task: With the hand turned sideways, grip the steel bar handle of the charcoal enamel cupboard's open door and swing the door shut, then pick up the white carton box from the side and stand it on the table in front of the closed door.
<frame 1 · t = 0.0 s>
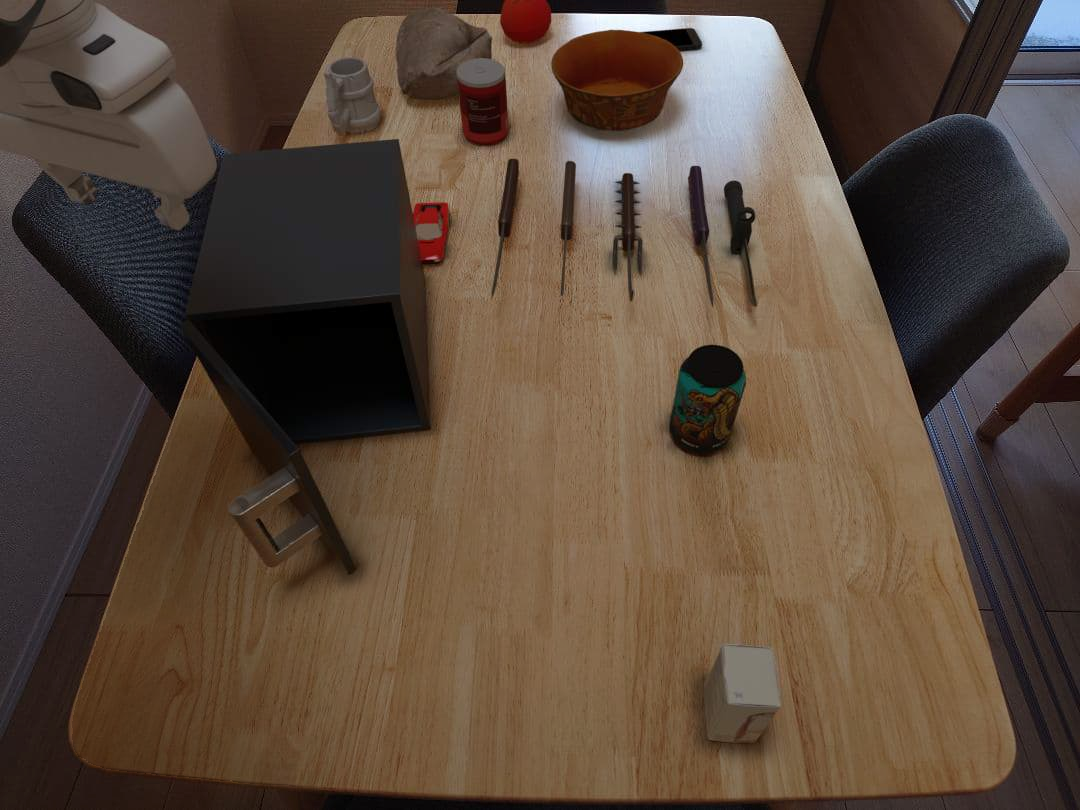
hand: (131, 211, 63), 33 cm above the table, tool pointing down, fingers open, 8 cm apart
rock: (446, 87, 136), on the table
bowl: (613, 116, 129), on the table
cupboard door: (245, 470, 73), point 11 cm above the table, hinge at 55.0°
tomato: (525, 40, 146), on the table
cupboard: (349, 357, 96), on the table
white carton box: (728, 713, 69), on the table
beverage can: (698, 433, 88), on the table
smartphone: (659, 44, 144), on the table
knife set: (622, 254, 108), on the table
mug: (355, 129, 129), on the table
toy car: (431, 240, 110), on the table
canned food: (486, 134, 127), on the table
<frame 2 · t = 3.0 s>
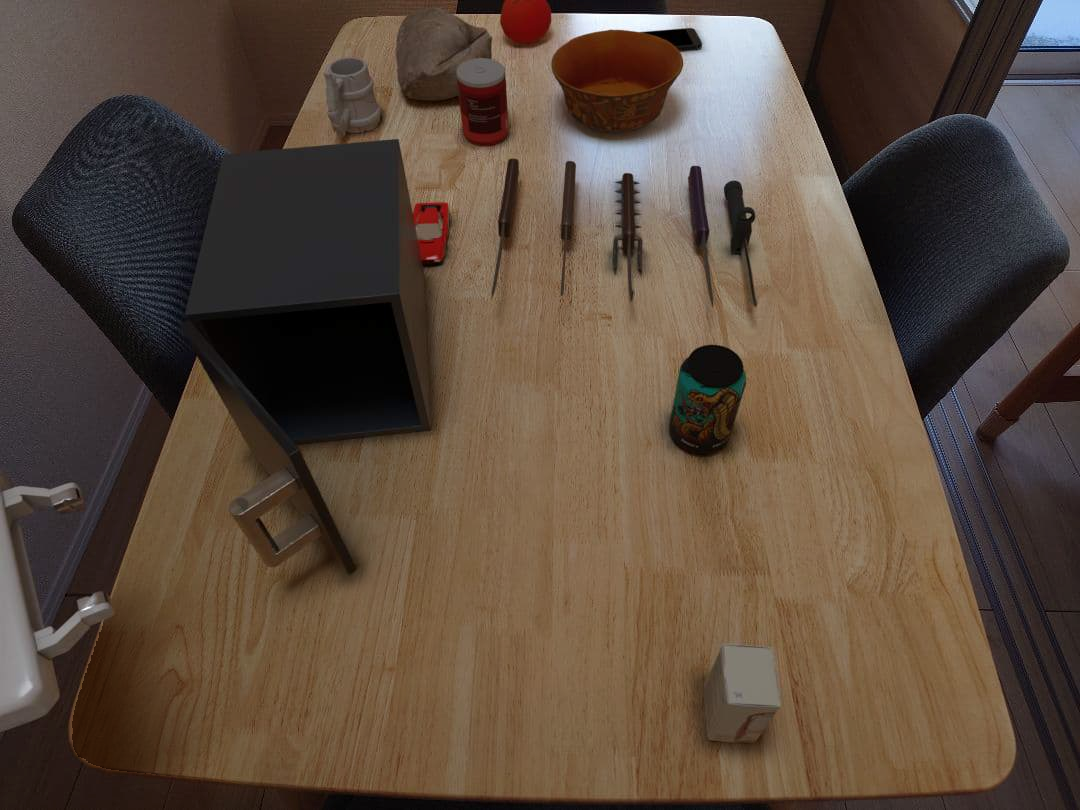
hand: (94, 546, 56), 22 cm above the table, tool horizontal, fingers open, 8 cm apart
nothing on the table moved.
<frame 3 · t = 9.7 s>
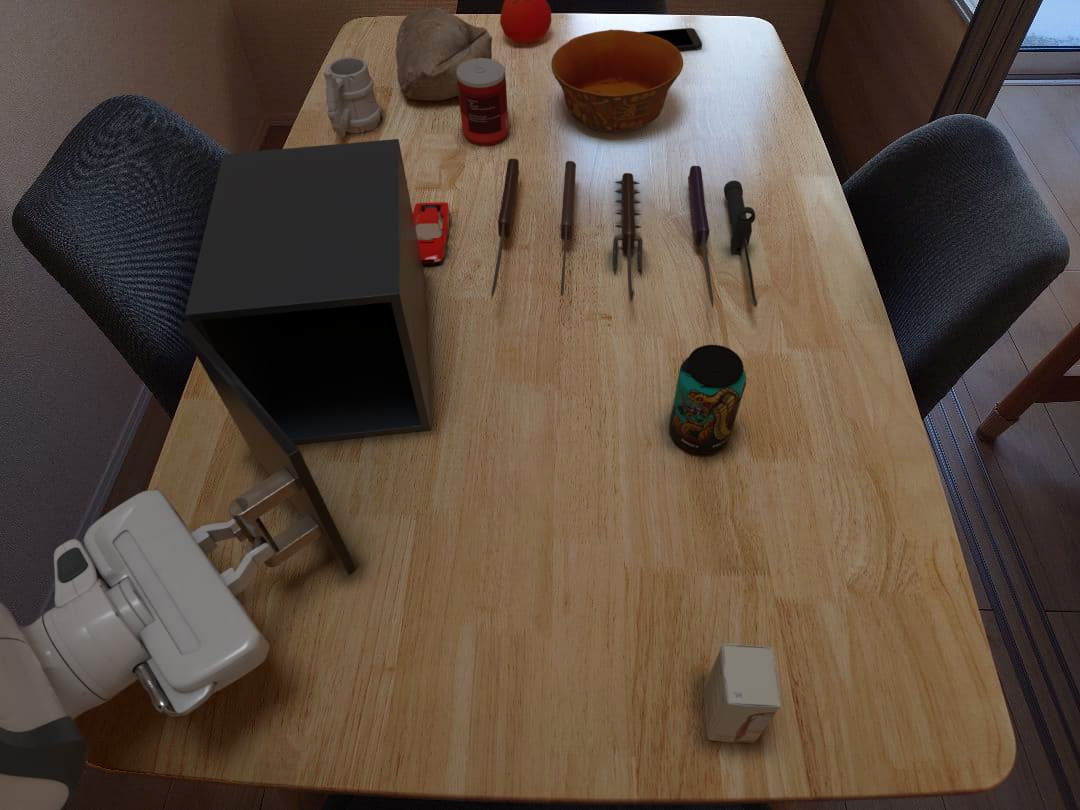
hand: (259, 532, 69), 11 cm above the table, tool horizontal, fingers closed on cupboard door, 2 cm apart
cupboard door: (245, 470, 73), point 11 cm above the table, hinge at 55.1°, touching gripper
everything else where it was.
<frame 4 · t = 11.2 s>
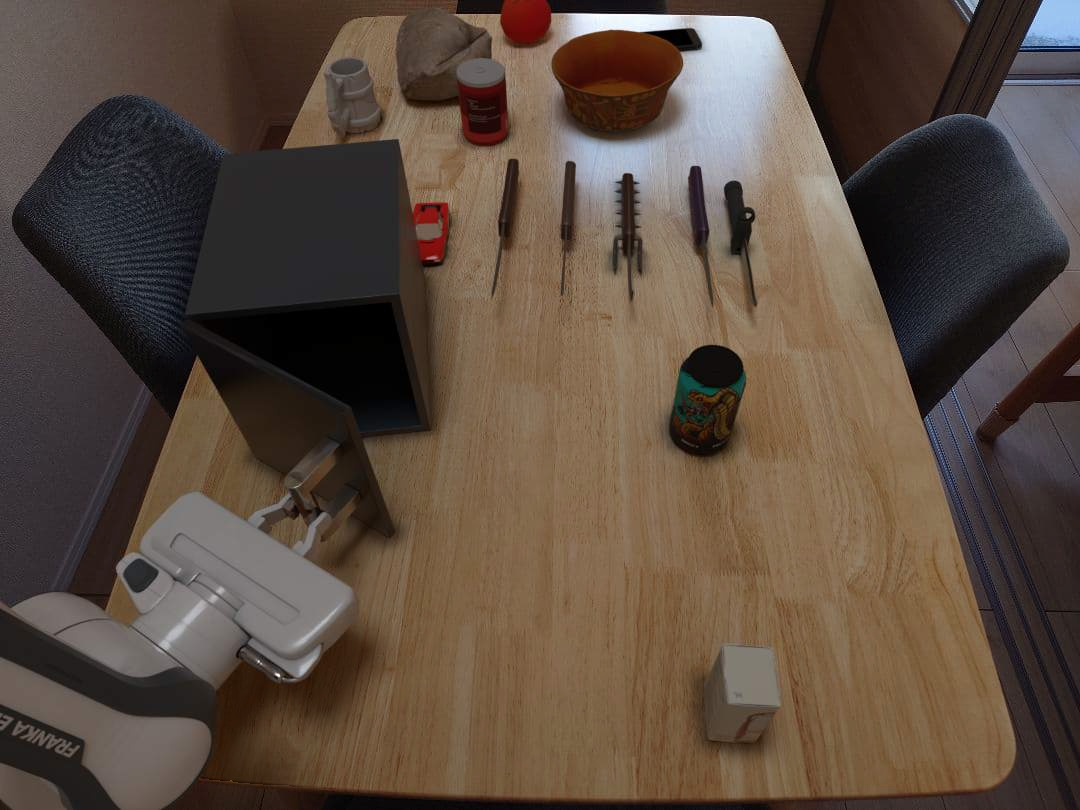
hand: (311, 505, 70), 11 cm above the table, tool horizontal, fingers closed on cupboard door, 2 cm apart
cupboard door: (274, 456, 74), point 11 cm above the table, hinge at 39.0°, touching gripper
everything else where it was.
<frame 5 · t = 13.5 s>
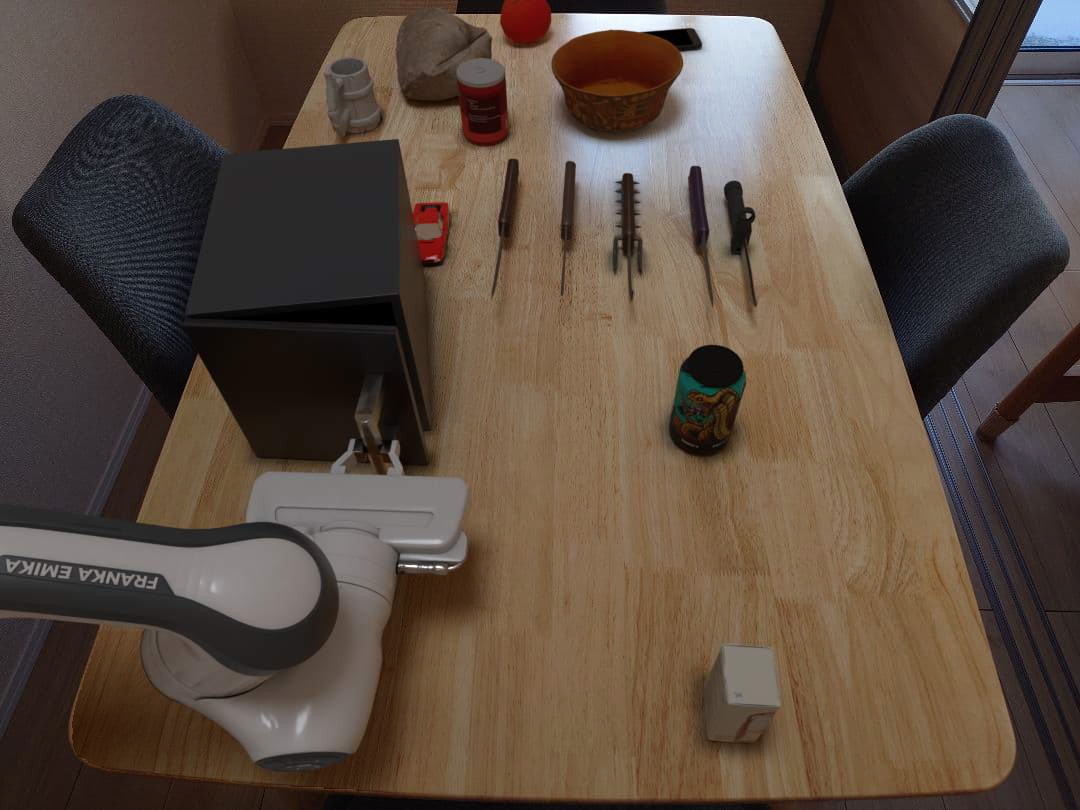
hand: (375, 442, 75), 11 cm above the table, tool horizontal, fingers closed on cupboard door, 2 cm apart
cupboard door: (311, 421, 76), point 11 cm above the table, hinge at 10.9°, touching gripper
everything else where it was.
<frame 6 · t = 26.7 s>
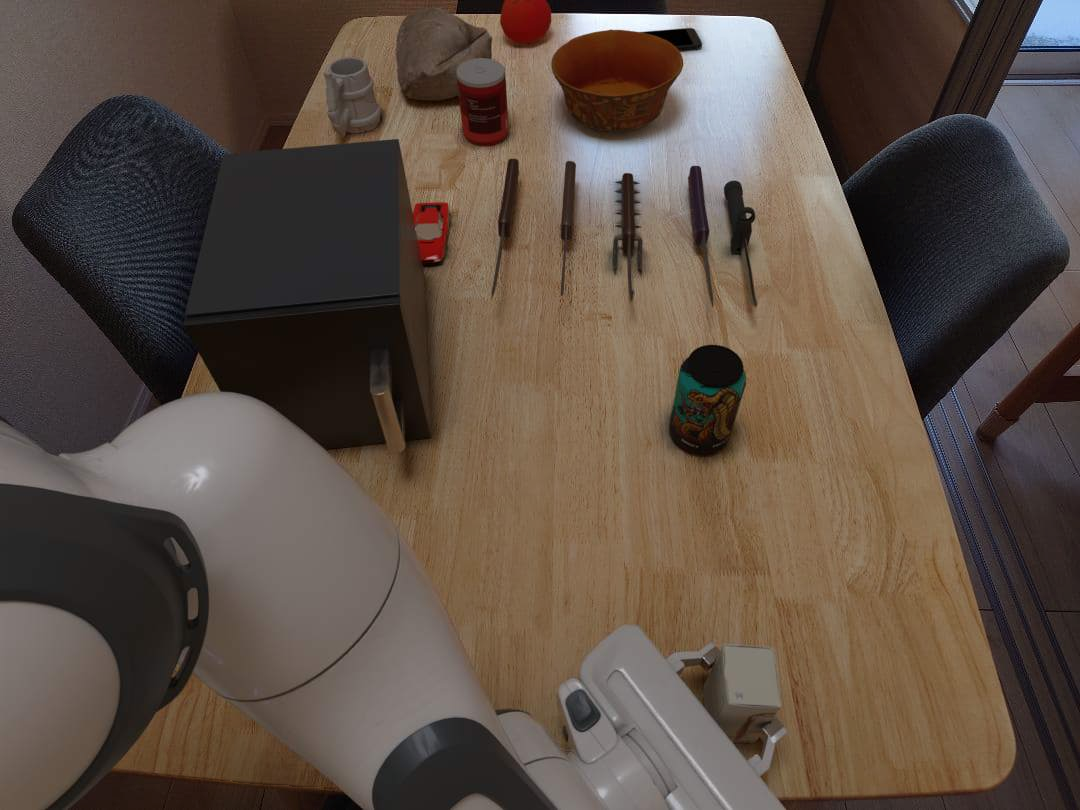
hand: (748, 686, 65), 6 cm above the table, tool horizontal, fingers closed on white carton box, 6 cm apart
cupboard door: (319, 406, 78), point 11 cm above the table, hinge at -0.1°
white carton box: (728, 713, 69), on the table, touching gripper
everything else where it was.
when the fingers open (6 cm above the table, at t = 38.6 s): white carton box stays where it is, on the table.
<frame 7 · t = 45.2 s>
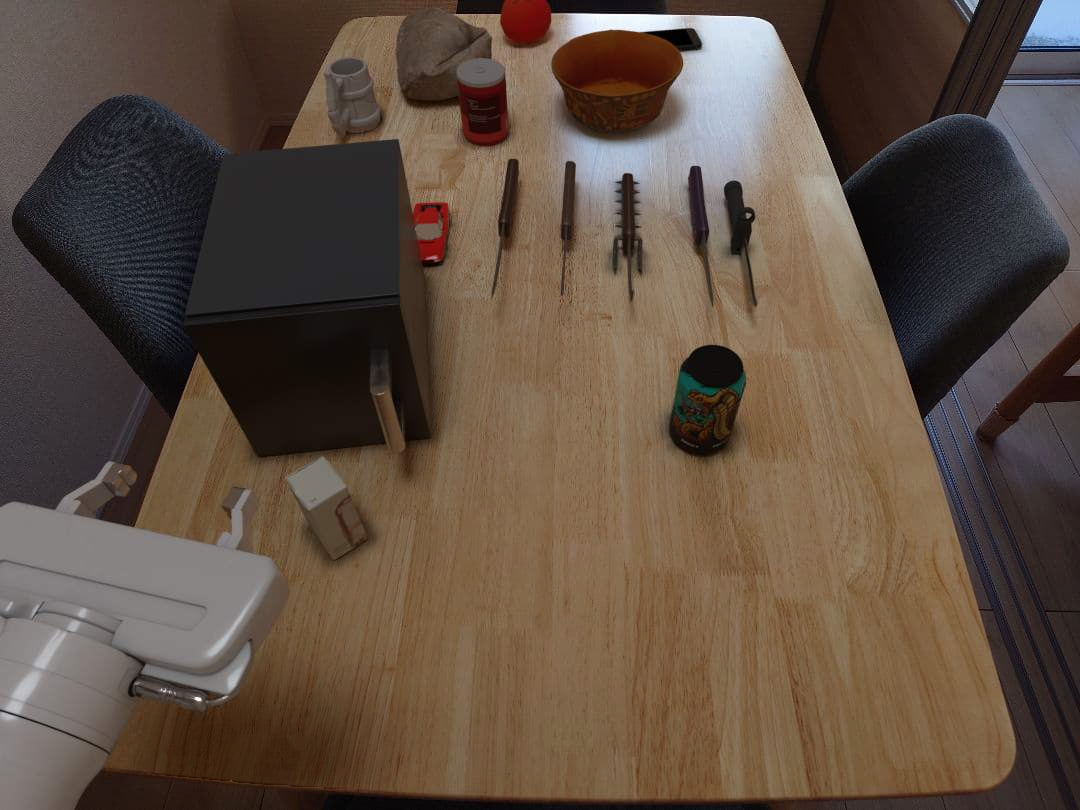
hand: (185, 479, 52), 28 cm above the table, tool horizontal, fingers open, 8 cm apart
white carton box: (340, 534, 81), on the table
everything else where it was.
at the end: cupboard door at +0° (first picture: +55°); white carton box inside the target area on the table beside the cupboard (0.6 cm from its centre), on the table; white carton box tilted 0° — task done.
